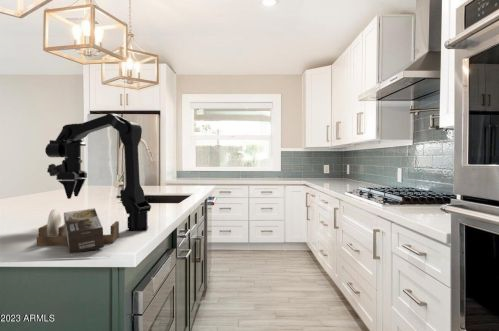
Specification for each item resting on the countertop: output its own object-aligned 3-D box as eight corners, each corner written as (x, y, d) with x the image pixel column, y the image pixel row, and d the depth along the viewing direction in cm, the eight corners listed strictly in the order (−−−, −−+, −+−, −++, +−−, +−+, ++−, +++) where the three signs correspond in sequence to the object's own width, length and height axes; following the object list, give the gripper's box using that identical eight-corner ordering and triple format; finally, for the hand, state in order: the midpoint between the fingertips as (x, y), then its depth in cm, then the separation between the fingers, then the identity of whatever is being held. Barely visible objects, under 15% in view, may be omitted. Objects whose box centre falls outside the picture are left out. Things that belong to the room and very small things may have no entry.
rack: (118, 236, 121) (118, 206, 121) (113, 243, 111) (113, 210, 111) (49, 238, 117) (49, 207, 117) (36, 245, 107) (36, 212, 107)
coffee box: (65, 231, 112) (68, 254, 98) (63, 211, 110) (66, 233, 97) (96, 226, 116) (104, 248, 103) (95, 207, 115) (102, 227, 101)
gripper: (58, 157, 148) (58, 195, 149) (41, 157, 130) (41, 200, 130) (87, 157, 150) (87, 195, 151) (74, 157, 132) (74, 199, 132)
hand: (72, 197), depth 141 cm, fingers open, 9 cm apart
